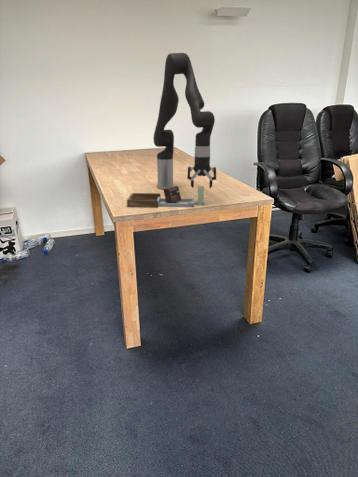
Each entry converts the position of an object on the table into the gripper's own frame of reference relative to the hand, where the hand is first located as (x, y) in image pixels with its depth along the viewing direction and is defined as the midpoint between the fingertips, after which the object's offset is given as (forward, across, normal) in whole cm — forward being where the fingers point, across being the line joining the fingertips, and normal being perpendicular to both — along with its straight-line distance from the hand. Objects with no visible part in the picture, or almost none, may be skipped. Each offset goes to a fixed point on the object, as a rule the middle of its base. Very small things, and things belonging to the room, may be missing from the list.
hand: (201, 187), depth 181 cm
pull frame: (+9, +11, +1) cm, 14 cm away
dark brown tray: (+9, +29, 0) cm, 30 cm away
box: (+8, +14, +1) cm, 16 cm away
